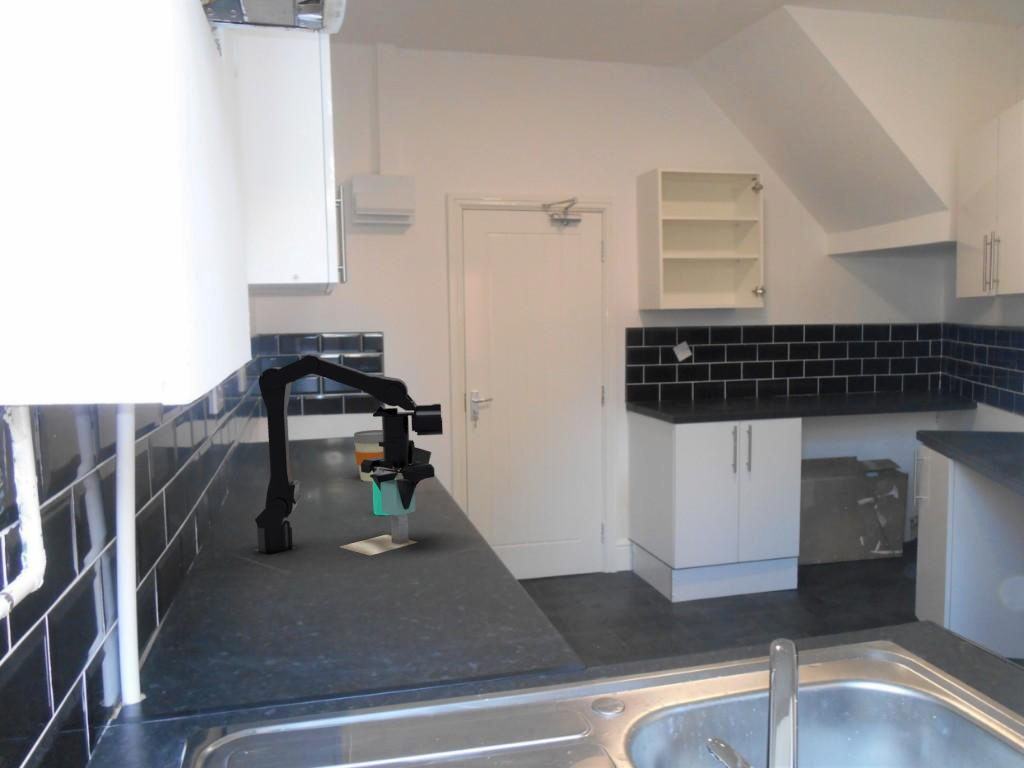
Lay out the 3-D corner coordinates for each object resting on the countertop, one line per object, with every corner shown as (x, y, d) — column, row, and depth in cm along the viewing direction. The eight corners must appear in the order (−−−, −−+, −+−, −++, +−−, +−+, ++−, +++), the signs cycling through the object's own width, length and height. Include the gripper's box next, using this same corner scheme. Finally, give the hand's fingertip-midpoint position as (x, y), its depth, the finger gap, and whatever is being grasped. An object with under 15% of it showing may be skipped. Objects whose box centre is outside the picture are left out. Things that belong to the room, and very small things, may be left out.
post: (399, 547, 176) (398, 515, 175) (391, 545, 177) (390, 513, 177) (408, 544, 177) (407, 513, 177) (401, 542, 179) (399, 511, 179)
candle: (368, 514, 208) (367, 468, 207) (383, 509, 214) (381, 464, 213) (387, 516, 206) (386, 469, 205) (401, 511, 211) (400, 465, 210)
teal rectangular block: (396, 515, 173) (395, 485, 173) (381, 512, 177) (380, 482, 176) (415, 511, 177) (414, 481, 177) (400, 508, 181) (399, 478, 180)
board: (370, 558, 168) (369, 555, 168) (338, 549, 175) (338, 546, 175) (417, 544, 177) (417, 542, 177) (386, 537, 185) (386, 534, 185)
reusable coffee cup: (351, 477, 262) (349, 431, 261) (388, 473, 268) (386, 428, 267) (360, 484, 251) (358, 436, 250) (399, 479, 256) (398, 432, 255)
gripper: (452, 435, 175) (454, 506, 176) (397, 429, 188) (399, 496, 189) (412, 441, 167) (415, 515, 168) (358, 435, 180) (360, 504, 181)
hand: (398, 507), depth 177 cm, fingers closed on teal rectangular block, 5 cm apart
